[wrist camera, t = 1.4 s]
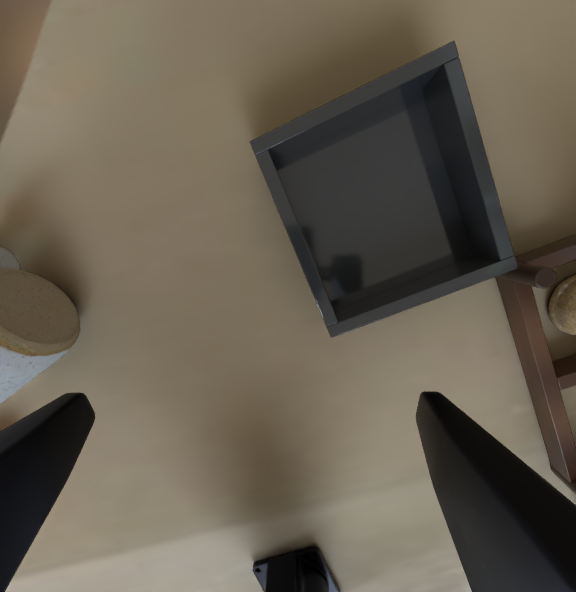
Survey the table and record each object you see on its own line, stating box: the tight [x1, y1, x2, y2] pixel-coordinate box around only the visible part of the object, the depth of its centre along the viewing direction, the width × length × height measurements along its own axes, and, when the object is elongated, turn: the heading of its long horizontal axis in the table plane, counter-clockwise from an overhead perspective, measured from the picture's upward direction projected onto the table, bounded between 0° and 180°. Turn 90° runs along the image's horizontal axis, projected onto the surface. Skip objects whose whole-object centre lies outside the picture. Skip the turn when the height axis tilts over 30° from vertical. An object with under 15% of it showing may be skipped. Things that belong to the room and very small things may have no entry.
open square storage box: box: [250, 41, 518, 338], centre depth 19 cm, size 13×12×4 cm
